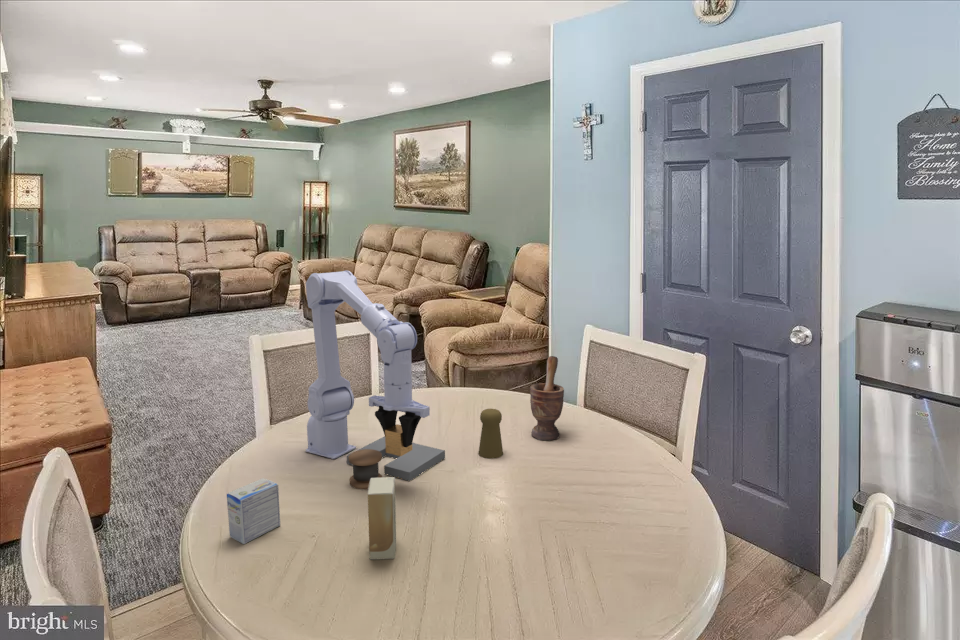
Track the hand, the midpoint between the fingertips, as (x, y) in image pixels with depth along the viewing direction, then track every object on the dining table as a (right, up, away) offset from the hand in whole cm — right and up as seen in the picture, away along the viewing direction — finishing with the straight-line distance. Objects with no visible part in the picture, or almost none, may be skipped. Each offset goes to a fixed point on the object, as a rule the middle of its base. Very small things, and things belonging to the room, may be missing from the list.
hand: (399, 443), depth 127 cm
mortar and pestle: (+34, -4, +32) cm, 47 cm away
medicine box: (-24, -13, -17) cm, 32 cm away
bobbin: (-8, -9, +3) cm, 12 cm away
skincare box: (0, -14, -23) cm, 27 cm away
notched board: (-2, -7, +14) cm, 15 cm away
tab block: (0, -2, 0) cm, 2 cm away
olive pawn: (+20, -6, +18) cm, 28 cm away
